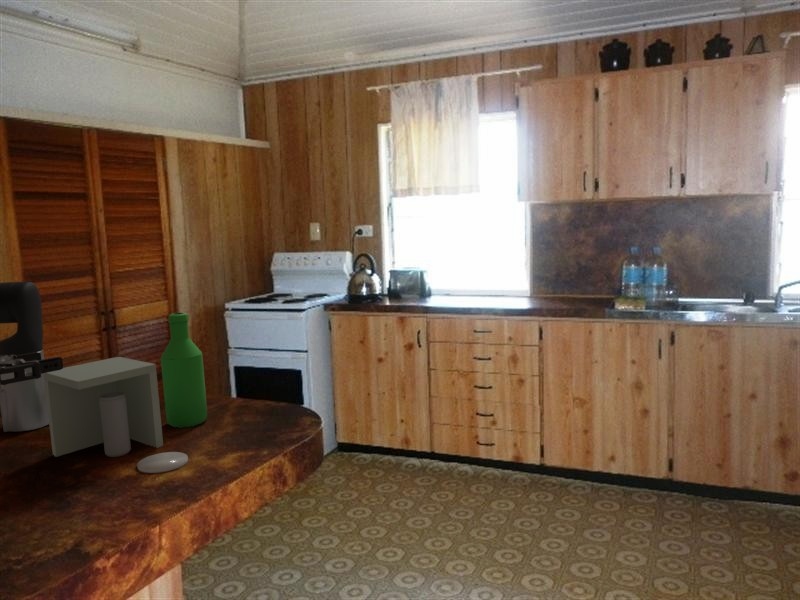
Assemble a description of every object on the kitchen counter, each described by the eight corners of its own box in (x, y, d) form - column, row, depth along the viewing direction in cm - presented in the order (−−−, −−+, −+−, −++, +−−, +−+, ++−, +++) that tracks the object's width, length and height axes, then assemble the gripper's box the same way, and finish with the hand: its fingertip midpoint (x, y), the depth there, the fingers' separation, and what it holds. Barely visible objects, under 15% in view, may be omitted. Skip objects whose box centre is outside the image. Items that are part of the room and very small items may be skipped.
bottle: (195, 429, 143) (185, 316, 140) (159, 428, 145) (148, 317, 141) (214, 417, 152) (205, 310, 148) (180, 416, 153) (170, 310, 150)
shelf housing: (87, 470, 122) (77, 381, 119) (52, 455, 131) (43, 372, 128) (163, 445, 133) (155, 364, 131) (126, 433, 143) (118, 356, 140)
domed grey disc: (137, 476, 118) (136, 473, 118) (137, 459, 126) (137, 456, 126) (189, 467, 121) (189, 464, 121) (186, 451, 129) (186, 449, 129)
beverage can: (136, 450, 132) (130, 392, 130) (119, 458, 127) (112, 398, 126) (117, 448, 133) (111, 390, 132) (99, 456, 129) (92, 397, 127)
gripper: (-44, 361, 97) (67, 342, 110) (-75, 352, 106) (31, 335, 119) (-38, 410, 98) (72, 386, 111) (-69, 397, 107) (35, 376, 120)
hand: (50, 360), depth 115 cm, fingers open, 8 cm apart
